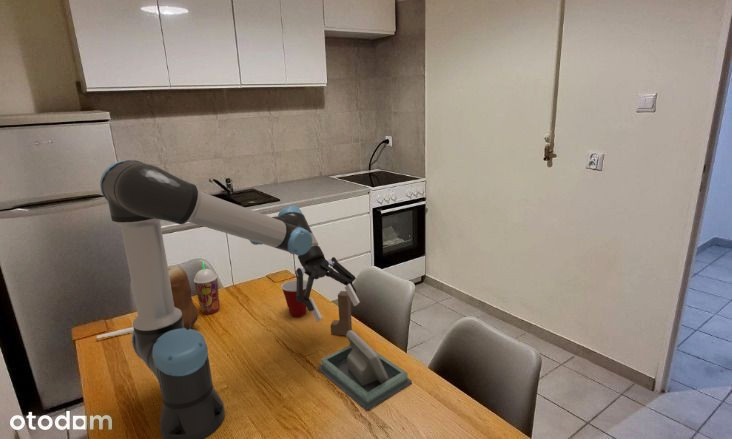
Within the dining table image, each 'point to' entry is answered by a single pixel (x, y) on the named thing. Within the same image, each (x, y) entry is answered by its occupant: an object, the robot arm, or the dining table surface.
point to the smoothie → (207, 290)
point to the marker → (117, 332)
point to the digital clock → (364, 361)
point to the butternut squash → (182, 295)
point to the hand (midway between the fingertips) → (338, 311)
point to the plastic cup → (294, 298)
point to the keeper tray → (363, 395)
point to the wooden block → (342, 315)
